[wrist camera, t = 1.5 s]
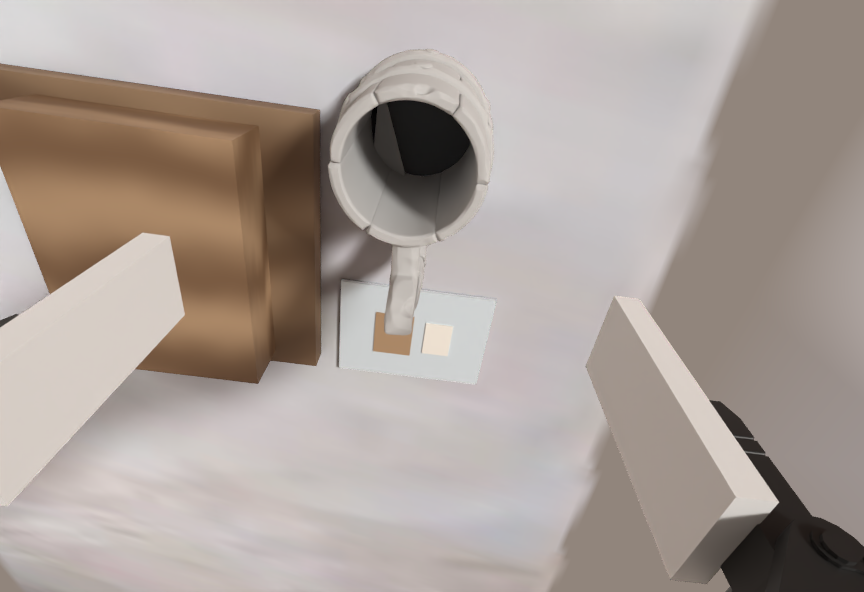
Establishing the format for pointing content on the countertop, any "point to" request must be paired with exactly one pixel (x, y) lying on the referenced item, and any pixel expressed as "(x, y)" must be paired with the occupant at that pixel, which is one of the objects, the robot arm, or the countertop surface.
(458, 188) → the mug
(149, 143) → the plinth
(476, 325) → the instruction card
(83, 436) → the countertop surface
